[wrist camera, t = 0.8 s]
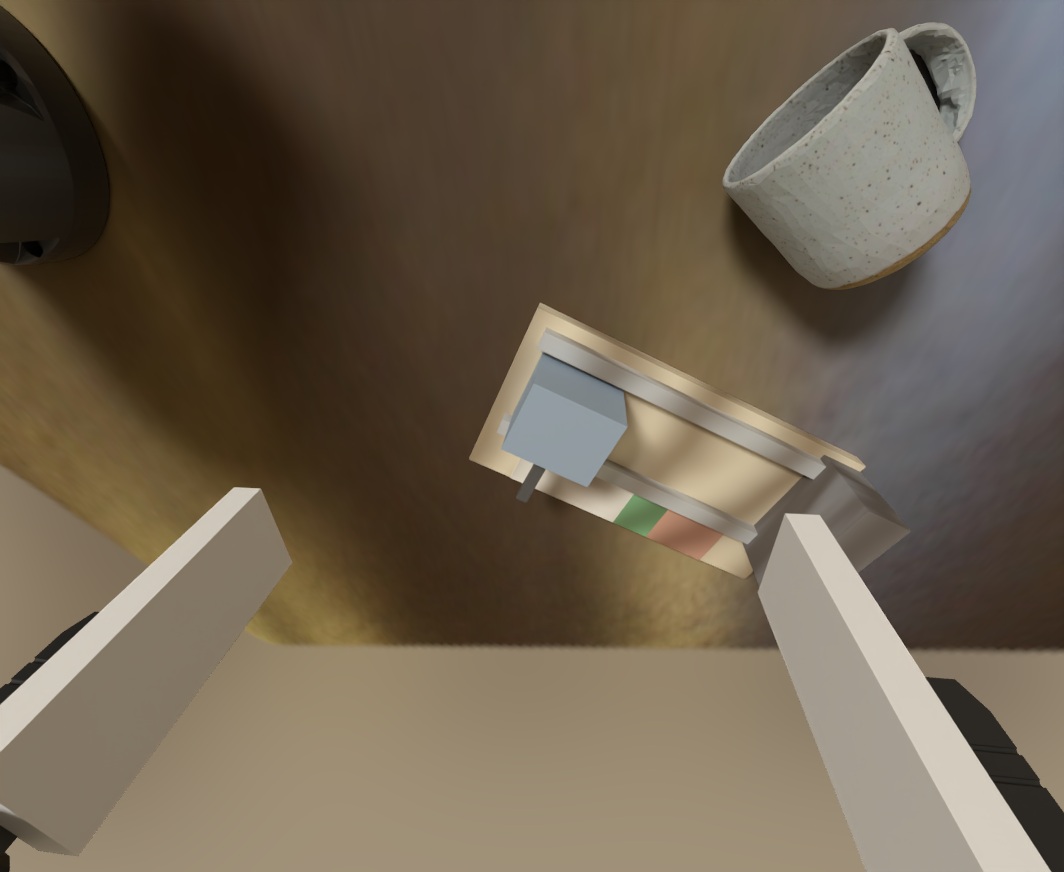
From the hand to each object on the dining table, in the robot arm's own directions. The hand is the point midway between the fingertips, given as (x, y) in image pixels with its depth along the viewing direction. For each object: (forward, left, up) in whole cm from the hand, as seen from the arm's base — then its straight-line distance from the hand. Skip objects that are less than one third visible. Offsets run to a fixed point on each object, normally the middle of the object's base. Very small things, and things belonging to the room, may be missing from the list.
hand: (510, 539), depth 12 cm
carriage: (+3, -7, -20) cm, 21 cm away
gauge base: (+11, -6, -21) cm, 25 cm away
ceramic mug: (+9, +14, -21) cm, 27 cm away
